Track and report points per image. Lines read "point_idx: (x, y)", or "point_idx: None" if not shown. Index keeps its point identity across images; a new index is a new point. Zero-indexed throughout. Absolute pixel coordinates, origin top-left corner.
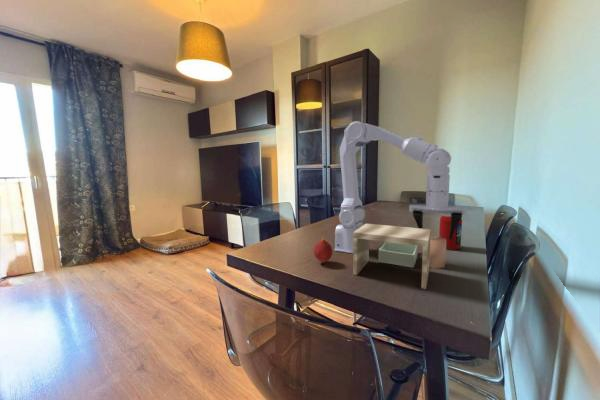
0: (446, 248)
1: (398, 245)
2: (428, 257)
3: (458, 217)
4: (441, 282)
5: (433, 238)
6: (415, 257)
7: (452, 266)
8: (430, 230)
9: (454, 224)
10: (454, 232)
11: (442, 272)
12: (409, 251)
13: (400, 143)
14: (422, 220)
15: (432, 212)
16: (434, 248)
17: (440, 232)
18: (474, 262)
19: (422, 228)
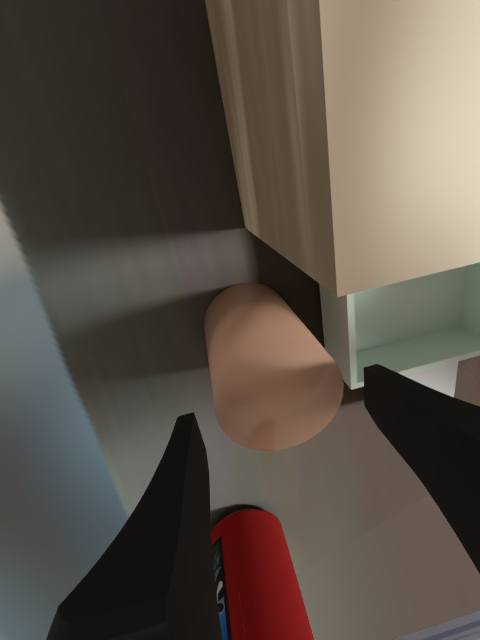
0: (249, 509)
1: (431, 355)
2: (243, 53)
3: (70, 631)
4: (159, 112)
5: (291, 395)
6: (330, 292)
7: (179, 350)
8: (334, 236)
9: (148, 519)
10: (234, 596)
11: (193, 252)
12: (367, 355)
13: None
14: (445, 502)
15: (439, 625)
16: (259, 321)
17: (291, 576)
18: (125, 444)
19: (395, 436)
